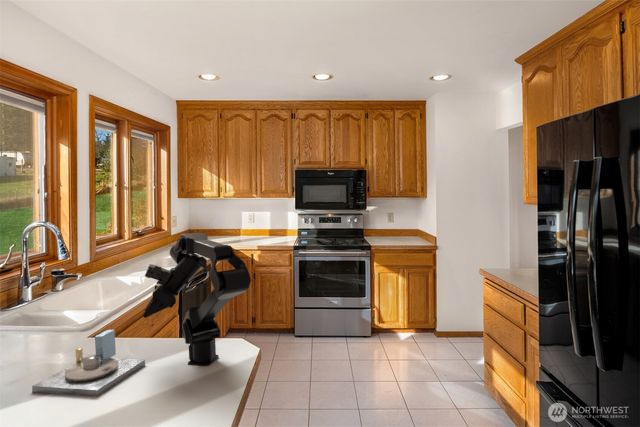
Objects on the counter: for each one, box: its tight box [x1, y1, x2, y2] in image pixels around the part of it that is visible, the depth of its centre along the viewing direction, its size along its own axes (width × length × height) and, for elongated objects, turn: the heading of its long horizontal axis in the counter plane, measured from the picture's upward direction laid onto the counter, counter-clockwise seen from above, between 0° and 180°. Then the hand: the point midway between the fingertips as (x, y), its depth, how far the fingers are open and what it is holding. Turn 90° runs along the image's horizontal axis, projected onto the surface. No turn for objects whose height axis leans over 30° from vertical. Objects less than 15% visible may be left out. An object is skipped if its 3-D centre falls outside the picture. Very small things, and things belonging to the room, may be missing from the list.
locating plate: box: [31, 347, 146, 398], centre depth 103 cm, size 18×18×6 cm
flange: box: [65, 329, 118, 381], centre depth 105 cm, size 14×12×8 cm
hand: (144, 314), depth 113 cm, fingers open, 6 cm apart
